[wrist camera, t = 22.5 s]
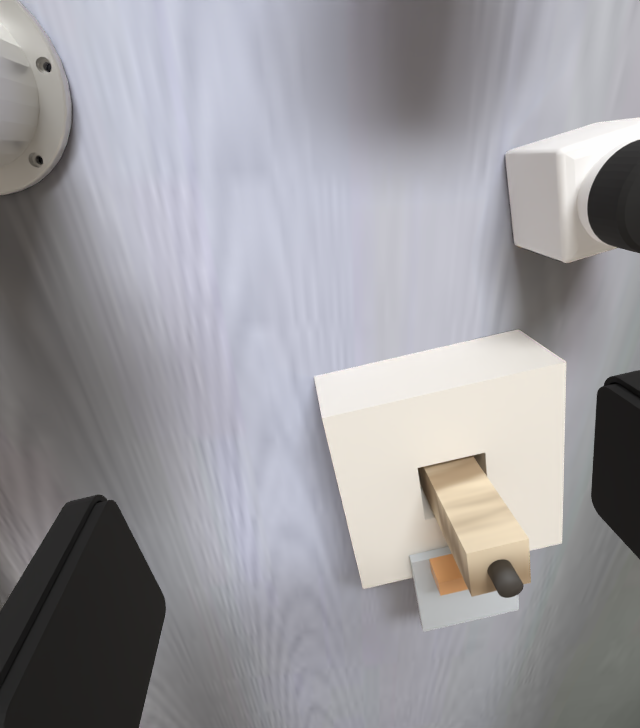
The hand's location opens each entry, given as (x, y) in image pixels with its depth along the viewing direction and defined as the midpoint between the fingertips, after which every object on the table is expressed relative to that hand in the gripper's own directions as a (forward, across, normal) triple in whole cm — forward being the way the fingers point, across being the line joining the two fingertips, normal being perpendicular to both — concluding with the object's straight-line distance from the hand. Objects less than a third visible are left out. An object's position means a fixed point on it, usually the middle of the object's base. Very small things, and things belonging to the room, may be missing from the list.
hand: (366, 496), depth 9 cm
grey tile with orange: (+21, -8, +31) cm, 38 cm away
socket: (+28, -8, +20) cm, 36 cm away
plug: (+25, -8, +20) cm, 33 cm away
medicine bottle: (+28, -20, 0) cm, 35 cm away
